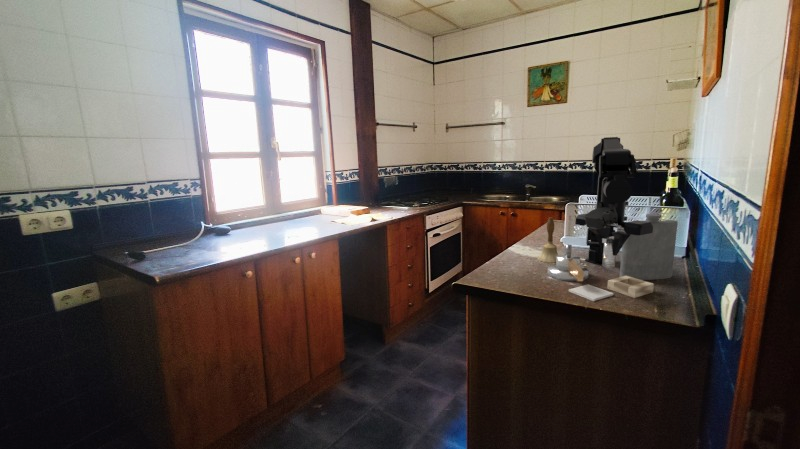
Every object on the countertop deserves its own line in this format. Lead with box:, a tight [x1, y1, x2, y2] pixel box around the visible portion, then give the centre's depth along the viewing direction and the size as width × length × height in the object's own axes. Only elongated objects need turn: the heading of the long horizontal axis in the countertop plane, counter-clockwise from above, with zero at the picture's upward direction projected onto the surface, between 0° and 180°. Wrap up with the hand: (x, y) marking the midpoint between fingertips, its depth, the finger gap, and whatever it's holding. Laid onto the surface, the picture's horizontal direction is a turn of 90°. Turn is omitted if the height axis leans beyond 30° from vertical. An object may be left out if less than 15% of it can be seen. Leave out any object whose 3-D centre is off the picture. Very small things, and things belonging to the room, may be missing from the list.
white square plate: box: [568, 283, 614, 302], centre depth 103 cm, size 8×8×1 cm
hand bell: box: [537, 217, 559, 264], centre depth 134 cm, size 8×8×16 cm
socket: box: [606, 276, 655, 299], centre depth 104 cm, size 8×8×2 cm
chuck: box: [555, 243, 584, 282], centre depth 112 cm, size 18×7×8 cm, turn 169°
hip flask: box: [619, 213, 679, 281], centre depth 111 cm, size 16×4×20 cm, turn 92°
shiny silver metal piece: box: [601, 236, 616, 269], centre depth 101 cm, size 5×3×8 cm, turn 116°
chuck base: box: [547, 263, 589, 282], centre depth 118 cm, size 12×12×2 cm
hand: (609, 254), depth 101 cm, fingers closed on shiny silver metal piece, 3 cm apart
